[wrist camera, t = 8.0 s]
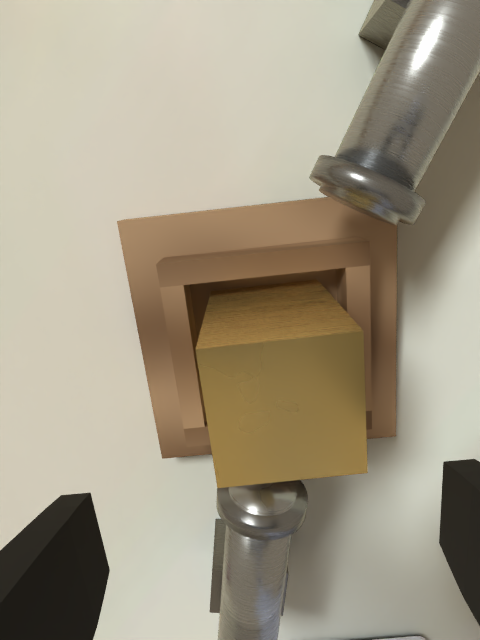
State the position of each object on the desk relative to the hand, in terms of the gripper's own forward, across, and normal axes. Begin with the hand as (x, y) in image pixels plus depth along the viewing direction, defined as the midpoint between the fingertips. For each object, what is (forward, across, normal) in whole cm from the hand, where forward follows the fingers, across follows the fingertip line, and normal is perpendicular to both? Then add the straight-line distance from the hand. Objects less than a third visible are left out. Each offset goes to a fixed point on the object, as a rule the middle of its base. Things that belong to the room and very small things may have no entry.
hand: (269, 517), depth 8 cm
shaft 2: (+9, -5, -9) cm, 14 cm away
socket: (+9, -1, -1) cm, 9 cm away
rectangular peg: (+8, -1, -1) cm, 8 cm away
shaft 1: (+9, +1, +8) cm, 12 cm away
